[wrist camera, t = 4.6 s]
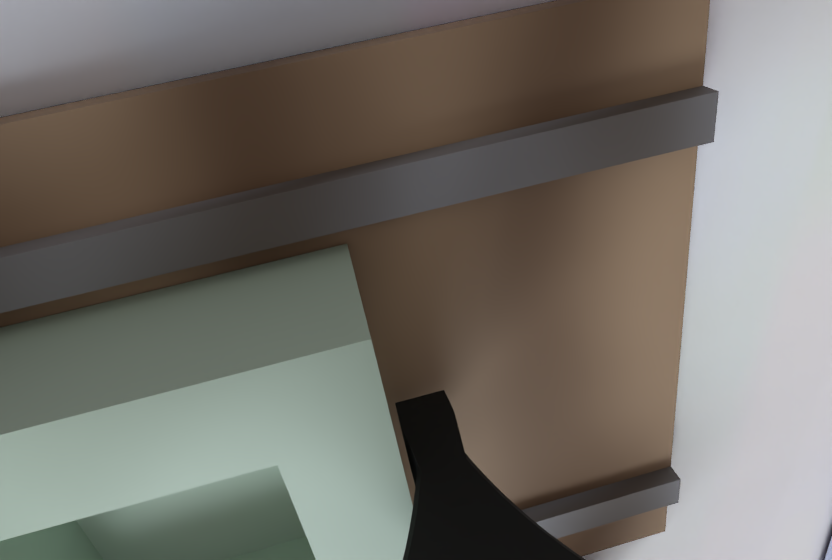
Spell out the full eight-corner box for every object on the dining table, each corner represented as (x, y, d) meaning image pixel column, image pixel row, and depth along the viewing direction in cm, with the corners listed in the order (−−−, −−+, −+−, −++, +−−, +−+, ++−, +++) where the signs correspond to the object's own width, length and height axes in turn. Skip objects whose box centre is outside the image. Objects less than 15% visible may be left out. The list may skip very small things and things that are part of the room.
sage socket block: (346, 243, 12) (371, 338, 9) (418, 529, 17) (448, 650, 14) (-134, 359, 11) (-266, 504, 8) (83, 627, 16) (44, 776, 13)
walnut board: (692, -28, 12) (1095, 14, 6) (654, 515, 20) (807, 746, 14) (-486, 220, 10) (-1532, 628, 4) (20, 706, 18) (-92, 1059, 12)
